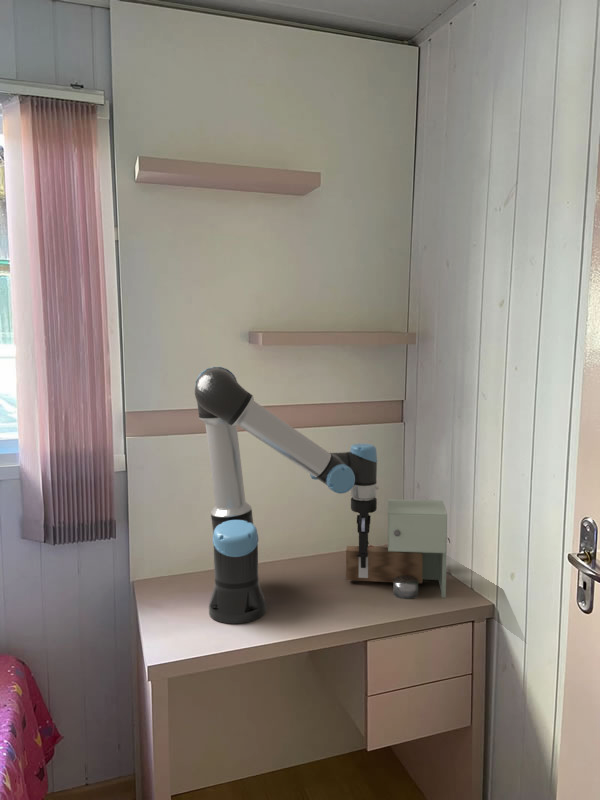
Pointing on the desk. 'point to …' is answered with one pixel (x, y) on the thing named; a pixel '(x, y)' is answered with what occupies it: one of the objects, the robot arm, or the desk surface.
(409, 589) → the silver metal dome
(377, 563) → the brown wooden block
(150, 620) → the desk surface
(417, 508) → the green bedside cabinet
